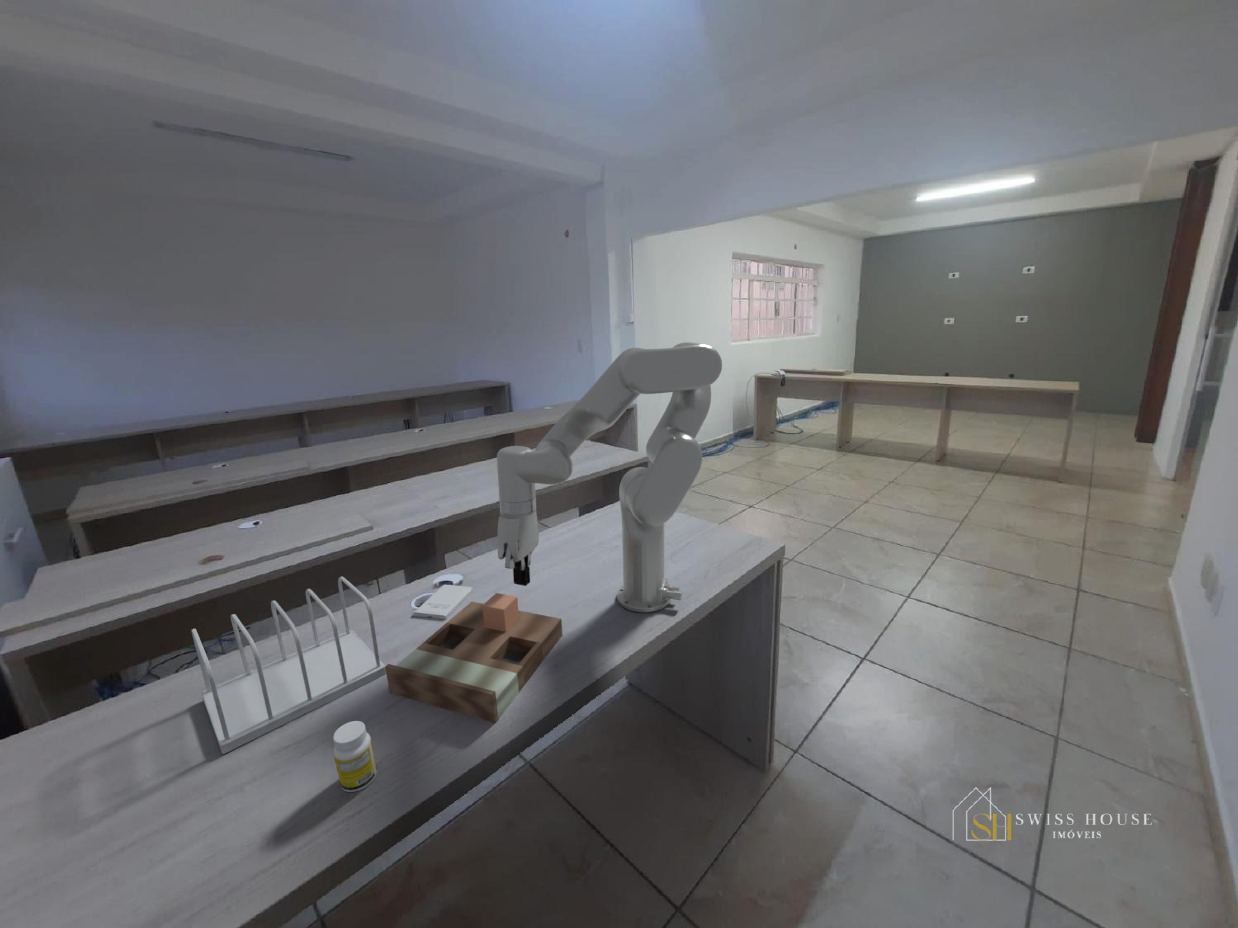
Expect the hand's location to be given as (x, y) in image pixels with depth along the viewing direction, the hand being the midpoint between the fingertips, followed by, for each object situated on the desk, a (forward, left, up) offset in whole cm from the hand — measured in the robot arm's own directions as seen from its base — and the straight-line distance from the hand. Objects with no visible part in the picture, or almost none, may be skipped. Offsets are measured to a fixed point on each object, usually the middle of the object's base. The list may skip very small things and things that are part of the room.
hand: (522, 583), depth 109 cm
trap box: (-1, +17, -8) cm, 18 cm away
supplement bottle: (+1, +45, -8) cm, 45 cm away
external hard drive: (+21, +2, -9) cm, 22 cm away
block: (-1, +10, -4) cm, 10 cm away
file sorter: (+28, +33, -8) cm, 44 cm away
